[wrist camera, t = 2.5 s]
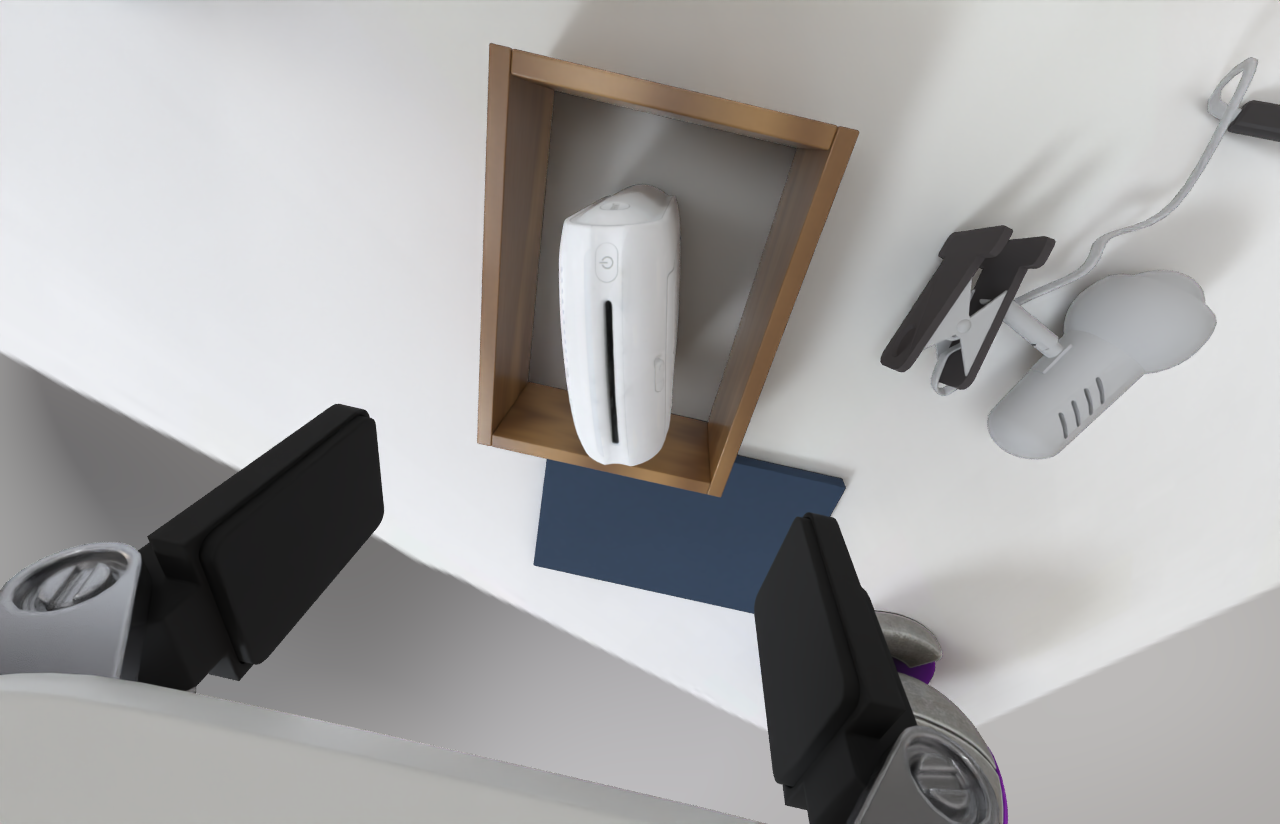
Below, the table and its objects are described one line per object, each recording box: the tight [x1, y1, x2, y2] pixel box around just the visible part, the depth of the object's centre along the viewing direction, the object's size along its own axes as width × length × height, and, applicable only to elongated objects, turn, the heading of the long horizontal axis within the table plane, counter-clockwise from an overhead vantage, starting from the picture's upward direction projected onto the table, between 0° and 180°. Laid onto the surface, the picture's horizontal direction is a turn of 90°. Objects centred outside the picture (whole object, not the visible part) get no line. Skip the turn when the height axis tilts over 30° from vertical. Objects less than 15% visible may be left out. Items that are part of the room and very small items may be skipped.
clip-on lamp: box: [880, 57, 1280, 459], centre depth 22 cm, size 12×6×18 cm
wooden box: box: [477, 43, 859, 497], centre depth 24 cm, size 14×18×6 cm
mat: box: [534, 455, 846, 614], centre depth 35 cm, size 20×14×1 cm
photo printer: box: [559, 184, 681, 466], centre depth 22 cm, size 10×4×12 cm, turn 1°
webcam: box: [875, 612, 1008, 824], centre depth 35 cm, size 13×13×15 cm
